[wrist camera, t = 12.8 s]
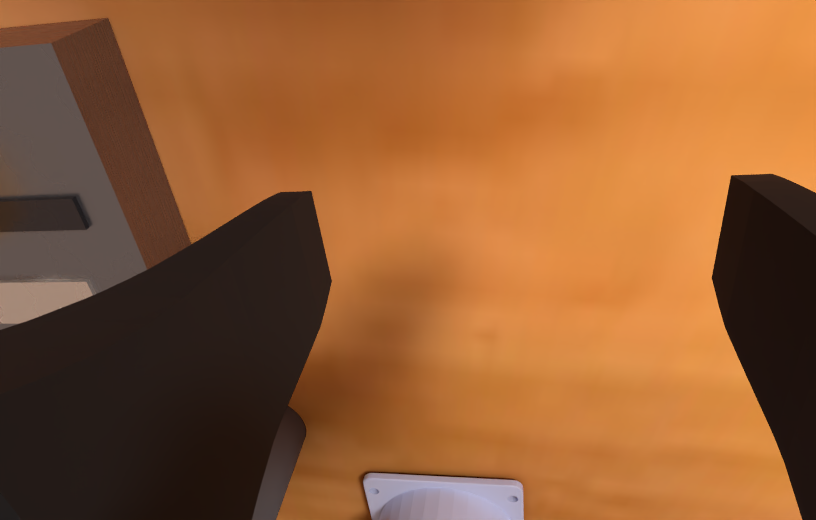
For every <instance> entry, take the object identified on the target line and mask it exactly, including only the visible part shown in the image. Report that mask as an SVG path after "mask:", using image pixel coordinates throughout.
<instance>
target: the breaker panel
mask: <svg viewBox="0 0 816 520" xmlns="http://www.w3.org/2000/svg"><path fill="white" fill-rule="evenodd" d="M190 245H191V243H190V240H189V237H188V235H187V232H186V229H185V226H184V224H183V221H182V218H181V216H180V213H179V210H178V207H177V205H176V202H175V199H174V196H173V194H172V191H171V188H170V186H169V183H168V180H167V177H166V175H165V172H164V169H163V167H162V164H161V161H160V158H159V156H158V153H157V150H156V147H155V145H154V142H153V139H152V137H151V134H150V131H149V128H148V126H147V123H146V120H145V118H144V115H143V112H142V109H141V107H140V104H139V101H138V98H137V96H136V93H135V90H134V88H133V85H132V82H131V79H130V77H129V74H128V71H127V69H126V66H125V63H124V60H123V58H122V55H121V52H120V49H119V47H118V44H117V41H116V39H115V36H114V33H113V30H112V28H111V25H110V22H109V20H108V18H102V19H92V20H82V21H72V22H62V23H51V24H41V25H31V26H21V27H11V28H1V29H0V330H2V329H5V328H8V327H11V326H14V325H17V324H20V323H23V322H26V321H29V320H31V319H34V318H37V317H39V316H42V315H44V314H47V313H50V312H52V311H55V310H57V309H60V308H62V307H65V306H67V305H70V304H73V303H75V302H78V301H80V300H83V299H85V298H88V297H90V296H93V295H95V294H97V293H100V292H102V291H104V290H106V289H108V288H110V287H113V286H115V285H117V284H119V283H121V282H123V281H125V280H128V279H130V278H132V277H134V276H136V275H138V274H140V273H142V272H144V271H145V270H147V269H149V268H151V267H153V266H155V265H157V264H158V263H160V262H162V261H164V260H165V259H167V258H169V257H171V256H172V255H174V254H176V253H178V252H179V251H181V250H183V249H184V248H186V247H188V246H190Z"/></svg>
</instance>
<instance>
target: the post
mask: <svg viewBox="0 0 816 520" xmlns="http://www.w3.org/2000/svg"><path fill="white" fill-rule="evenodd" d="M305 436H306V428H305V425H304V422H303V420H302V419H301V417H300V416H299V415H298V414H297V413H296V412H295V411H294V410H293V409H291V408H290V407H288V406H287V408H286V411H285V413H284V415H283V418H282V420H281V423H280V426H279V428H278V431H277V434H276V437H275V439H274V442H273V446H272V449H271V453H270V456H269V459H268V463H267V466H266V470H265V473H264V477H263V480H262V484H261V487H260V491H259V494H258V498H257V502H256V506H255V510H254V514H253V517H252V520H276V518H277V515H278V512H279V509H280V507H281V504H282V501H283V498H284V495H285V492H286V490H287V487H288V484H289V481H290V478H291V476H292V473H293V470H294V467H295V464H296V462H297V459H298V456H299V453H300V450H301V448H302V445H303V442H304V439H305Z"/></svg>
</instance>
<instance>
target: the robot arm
mask: <svg viewBox="0 0 816 520" xmlns="http://www.w3.org/2000/svg"><path fill="white" fill-rule="evenodd" d="M712 280H713V284H714V288H715V292H716V296H717V300H718V304H719V308H720V311H721V315H722V318H723V322H724V325H725V328H726V330H727V333H728V335H729V337H730V340H731V342H732V344H733V346H734V349H735V351H736V353H737V356H738V358H739V360H740V362H741V365H742V367H743V369H744V371H745V373H746V376H747V378H748V380H749V382H750V384H751V387H752V389H753V391H754V393H755V395H756V398H757V400H758V402H759V404H760V406H761V409H762V411H763V413H764V415H765V417H766V420H767V422H768V424H769V426H770V429H771V431H772V433H773V435H774V437H775V440H776V443H777V445H778V448H779V450H780V453H781V455H782V458H783V460H784V463H785V466H786V469H787V472H788V475H789V478H790V482H791V485H792V488H793V491H794V494H795V497H796V501H797V504H798V507H799V510H800V513H801V516H802V520H816V193H815V192H813V191H811V190H809V189H807V188H804V187H802V186H800V185H798V184H796V183H794V182H792V181H789V180H787V179H785V178H782V177H780V176H777V175H774V174H759V175H732V176H731V180H730V185H729V190H728V195H727V201H726V206H725V211H724V217H723V222H722V227H721V232H720V238H719V243H718V248H717V254H716V259H715V264H714V269H713V275H712ZM331 282H332V280H331V276H330V271H329V267H328V262H327V258H326V254H325V249H324V245H323V241H322V236H321V232H320V227H319V223H318V219H317V214H316V210H315V205H314V201H313V197H312V192H311V191H302V192H280V193H278V194H275V195H273V196H271V197H269V198H267V199H265V200H263V201H262V202H260V203H258V204H257V205H255V206H253V207H252V208H250V209H248V210H247V211H245V212H243V213H242V214H240V215H239V216H237V217H235V218H234V219H232V220H231V221H229V222H227V223H226V224H224V225H223V226H221V227H219V228H218V229H216V230H215V231H213V232H211V233H210V234H208V235H207V236H205V237H203V238H202V239H200V240H198V241H197V242H195V243H193V244H191V245H190V246H188V247H186V248H184V249H183V250H181V251H179V252H178V253H176V254H174V255H172V256H171V257H169V258H167V259H165V260H164V261H162V262H160V263H158V264H157V265H155V266H153V267H151V268H149V269H147V270H145V271H144V272H142V273H140V274H138V275H136V276H134V277H132V278H130V279H128V280H125V281H123V282H121V283H119V284H117V285H115V286H113V287H110V288H108V289H106V290H104V291H102V292H100V293H97V294H95V295H93V296H90V297H88V298H85V299H83V300H80V301H78V302H75V303H73V304H70V305H67V306H65V307H62V308H60V309H57V310H55V311H52V312H50V313H47V314H44V315H42V316H39V317H37V318H34V319H31V320H29V321H26V322H23V323H20V324H17V325H14V326H11V327H8V328H5V329H2V330H0V520H252V517H253V514H254V510H255V506H256V502H257V498H258V494H259V491H260V487H261V484H262V480H263V477H264V473H265V470H266V466H267V463H268V459H269V456H270V453H271V449H272V446H273V442H274V439H275V437H276V434H277V431H278V428H279V426H280V423H281V420H282V418H283V415H284V413H285V411H286V408H287V406H288V403H289V401H290V399H291V396H292V394H293V392H294V389H295V387H296V384H297V382H298V380H299V377H300V375H301V373H302V370H303V368H304V365H305V363H306V361H307V358H308V356H309V353H310V351H311V349H312V346H313V344H314V341H315V339H316V336H317V334H318V331H319V329H320V326H321V323H322V319H323V316H324V312H325V308H326V304H327V300H328V295H329V291H330V286H331ZM363 486H364V490H365V494H366V498H367V502H368V506H369V510H370V514H371V518H372V520H524V510H523V486H522V484H521V483H520V482H518V481H516V480H505V479H485V478H465V477H446V476H426V475H407V474H387V473H368V474H366V475H365V476H364V480H363Z"/></svg>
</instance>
